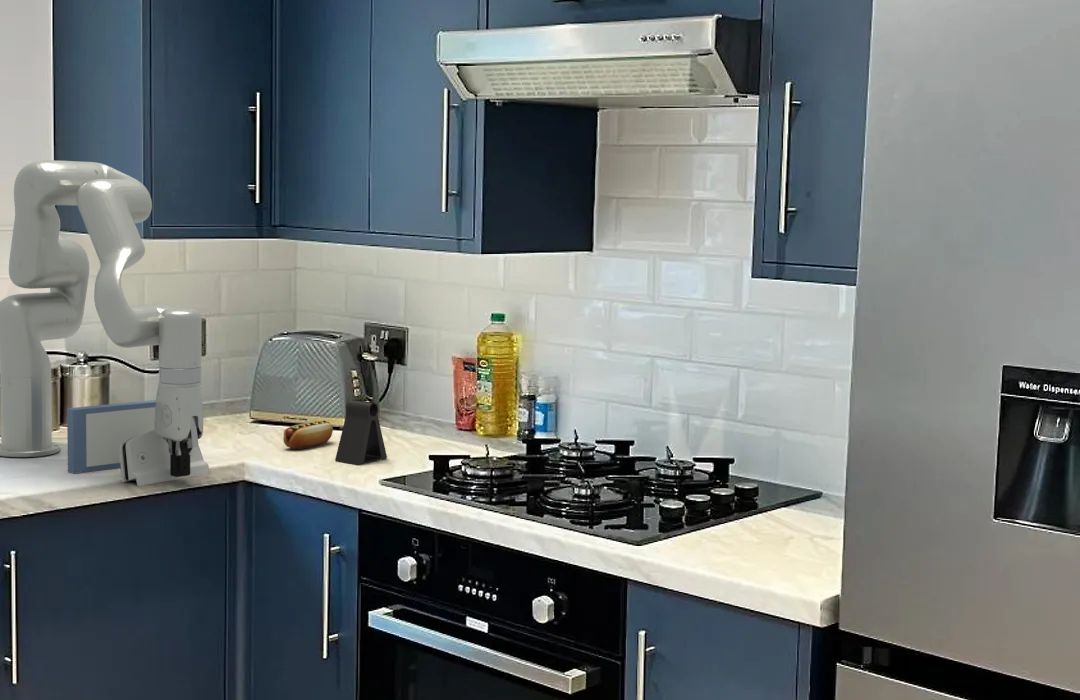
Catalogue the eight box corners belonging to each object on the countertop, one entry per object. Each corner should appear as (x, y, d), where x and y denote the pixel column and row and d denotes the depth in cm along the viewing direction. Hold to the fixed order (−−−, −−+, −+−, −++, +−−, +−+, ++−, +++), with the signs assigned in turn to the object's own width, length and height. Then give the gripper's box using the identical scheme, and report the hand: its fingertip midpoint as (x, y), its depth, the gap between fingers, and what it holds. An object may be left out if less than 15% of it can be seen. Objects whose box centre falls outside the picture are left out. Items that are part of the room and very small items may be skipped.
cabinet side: (67, 471, 269) (67, 408, 267) (181, 456, 285) (181, 397, 284) (74, 473, 267) (73, 410, 266) (188, 459, 284) (188, 399, 282)
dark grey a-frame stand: (364, 455, 293) (365, 397, 292) (387, 459, 290) (388, 400, 288) (334, 461, 286) (335, 402, 284) (357, 465, 282) (358, 405, 281)
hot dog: (338, 443, 305) (338, 420, 304) (297, 453, 294) (298, 429, 293) (320, 441, 308) (320, 418, 307) (279, 450, 296) (279, 426, 295)
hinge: (137, 486, 258) (125, 432, 259) (122, 490, 261) (111, 437, 262) (211, 473, 271) (200, 421, 272) (197, 477, 274) (186, 427, 275)
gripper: (141, 373, 263) (141, 471, 265) (183, 383, 253) (183, 485, 255) (177, 370, 268) (177, 466, 271) (220, 379, 258) (220, 480, 260)
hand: (180, 475), depth 263 cm, fingers closed
